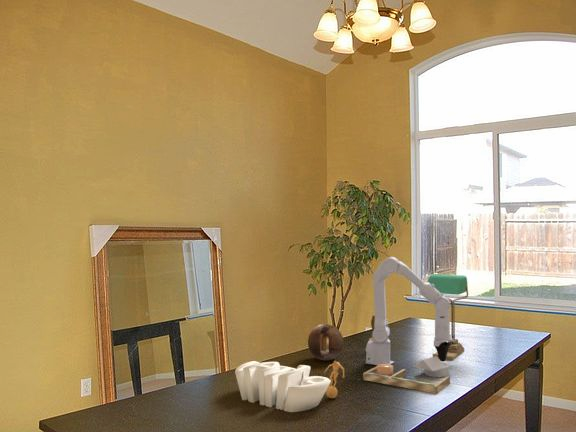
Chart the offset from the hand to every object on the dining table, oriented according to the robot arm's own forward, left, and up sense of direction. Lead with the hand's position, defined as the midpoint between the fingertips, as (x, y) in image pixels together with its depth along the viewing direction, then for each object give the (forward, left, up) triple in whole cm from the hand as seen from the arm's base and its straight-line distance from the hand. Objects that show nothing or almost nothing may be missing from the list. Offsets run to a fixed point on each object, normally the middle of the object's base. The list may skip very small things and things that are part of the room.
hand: (442, 360), depth 212 cm
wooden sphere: (-45, -15, -3) cm, 48 cm away
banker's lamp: (-5, +23, -3) cm, 23 cm away
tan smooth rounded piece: (-13, -25, -3) cm, 28 cm away
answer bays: (-5, -24, -3) cm, 25 cm away
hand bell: (-35, +11, -3) cm, 37 cm away
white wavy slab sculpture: (-32, -67, -3) cm, 75 cm away
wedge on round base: (0, -10, -3) cm, 11 cm away
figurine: (-18, -55, -3) cm, 58 cm away
